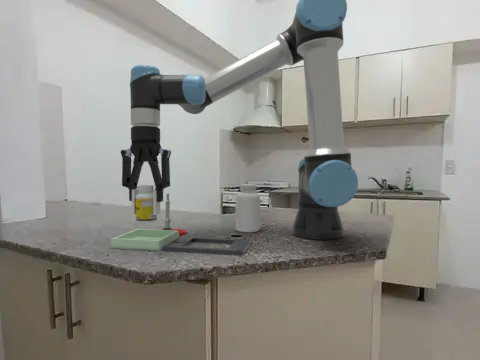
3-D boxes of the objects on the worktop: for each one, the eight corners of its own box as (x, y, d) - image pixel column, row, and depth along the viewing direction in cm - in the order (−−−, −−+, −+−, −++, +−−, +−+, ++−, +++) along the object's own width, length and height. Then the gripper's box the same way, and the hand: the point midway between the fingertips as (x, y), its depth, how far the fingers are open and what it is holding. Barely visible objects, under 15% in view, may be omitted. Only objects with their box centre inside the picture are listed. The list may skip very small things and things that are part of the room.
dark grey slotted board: (251, 243, 87) (251, 239, 87) (242, 255, 75) (242, 250, 75) (181, 239, 91) (181, 236, 91) (163, 250, 79) (163, 246, 79)
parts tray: (179, 239, 91) (179, 230, 91) (158, 251, 79) (158, 241, 79) (137, 237, 94) (137, 228, 94) (111, 248, 81) (110, 238, 81)
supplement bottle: (135, 220, 88) (135, 185, 87) (156, 219, 89) (156, 184, 89) (135, 224, 83) (135, 186, 82) (157, 223, 84) (157, 186, 84)
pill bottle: (258, 233, 100) (259, 185, 99) (233, 232, 101) (233, 185, 100) (261, 228, 107) (261, 183, 107) (237, 227, 109) (237, 183, 108)
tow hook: (164, 232, 104) (152, 236, 95) (165, 192, 104) (153, 193, 95) (189, 232, 103) (179, 238, 94) (190, 192, 103) (180, 193, 94)
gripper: (183, 127, 87) (183, 212, 88) (122, 128, 91) (122, 210, 92) (172, 124, 79) (172, 217, 81) (105, 125, 83) (107, 214, 84)
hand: (146, 213), depth 86 cm, fingers closed on supplement bottle, 5 cm apart
